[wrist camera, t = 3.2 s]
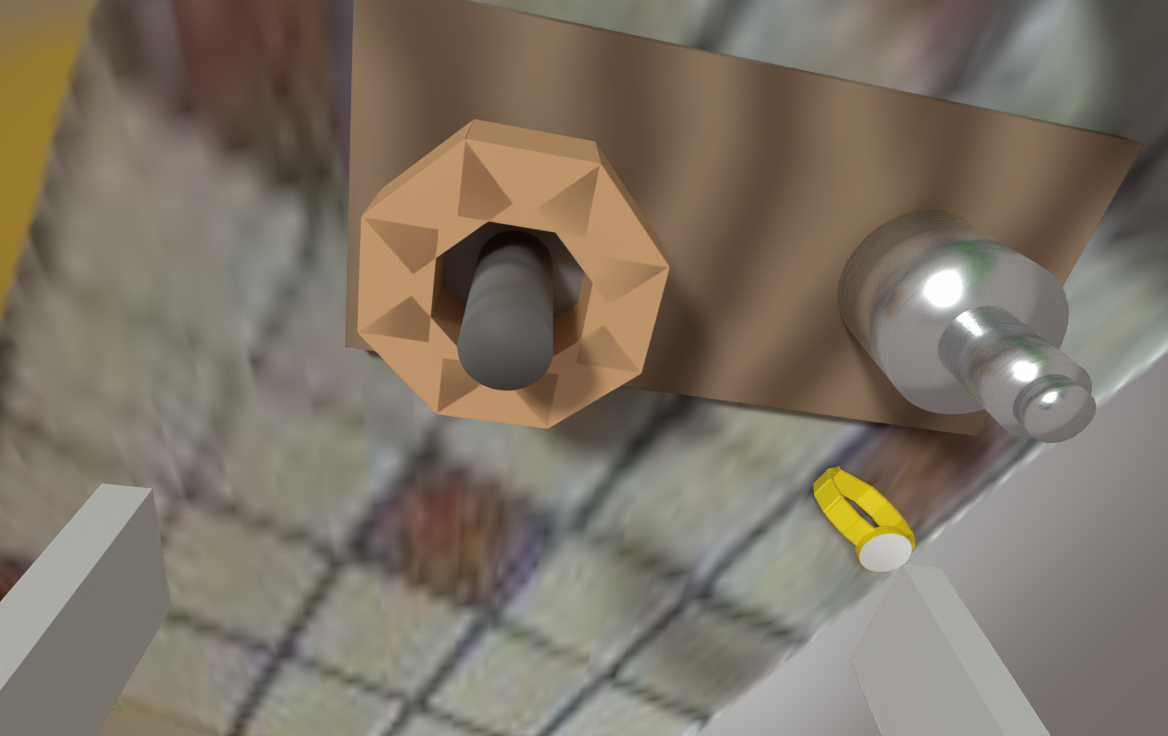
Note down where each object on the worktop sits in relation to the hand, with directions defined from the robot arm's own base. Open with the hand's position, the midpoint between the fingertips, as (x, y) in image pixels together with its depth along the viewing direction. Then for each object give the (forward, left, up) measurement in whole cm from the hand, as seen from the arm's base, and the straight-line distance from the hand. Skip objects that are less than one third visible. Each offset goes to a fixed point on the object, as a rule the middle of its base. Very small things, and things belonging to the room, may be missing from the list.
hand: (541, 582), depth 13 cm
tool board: (+6, +6, -23) cm, 25 cm away
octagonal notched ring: (-1, -1, -16) cm, 16 cm away
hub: (+13, +12, -22) cm, 28 cm away
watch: (+24, +5, -23) cm, 34 cm away
